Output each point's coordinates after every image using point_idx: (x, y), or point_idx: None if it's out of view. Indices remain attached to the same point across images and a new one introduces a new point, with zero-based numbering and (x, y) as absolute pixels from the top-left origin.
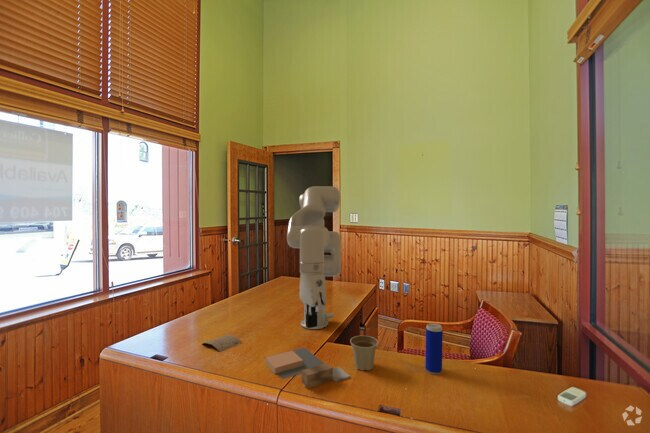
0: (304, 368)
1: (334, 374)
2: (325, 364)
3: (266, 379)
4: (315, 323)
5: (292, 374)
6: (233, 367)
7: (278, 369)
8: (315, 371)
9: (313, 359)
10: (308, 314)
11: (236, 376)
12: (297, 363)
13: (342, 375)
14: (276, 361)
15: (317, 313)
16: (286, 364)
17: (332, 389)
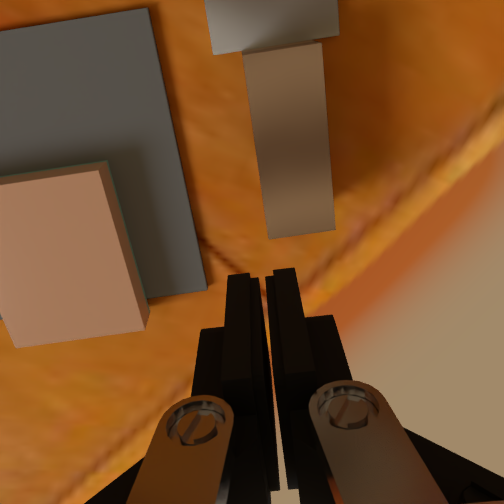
0: (139, 159)
1: (273, 6)
2: (260, 75)
3: (173, 344)
4: (335, 325)
5: (181, 237)
6: (28, 441)
7: (142, 305)
8: (314, 170)
9: (39, 64)
10: (275, 481)
11: (110, 437)
12: (112, 202)
13: None
14: (76, 309)
15: (382, 404)
16: (125, 270)
17: (390, 82)
